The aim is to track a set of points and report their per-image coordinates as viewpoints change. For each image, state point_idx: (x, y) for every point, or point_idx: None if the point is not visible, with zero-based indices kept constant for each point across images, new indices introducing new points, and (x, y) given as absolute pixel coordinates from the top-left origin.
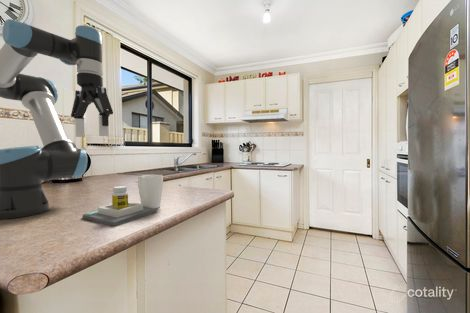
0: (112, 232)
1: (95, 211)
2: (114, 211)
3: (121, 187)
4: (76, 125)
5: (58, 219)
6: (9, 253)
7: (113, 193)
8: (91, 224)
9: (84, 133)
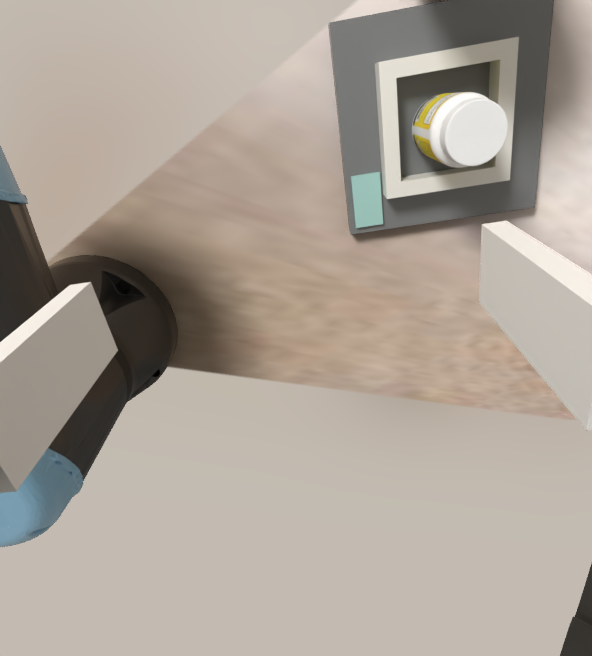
0: (568, 234)
1: (361, 194)
2: (491, 182)
3: (496, 137)
4: (64, 422)
5: (293, 280)
6: (468, 401)
7: (457, 164)
8: (441, 239)
9: (75, 300)
